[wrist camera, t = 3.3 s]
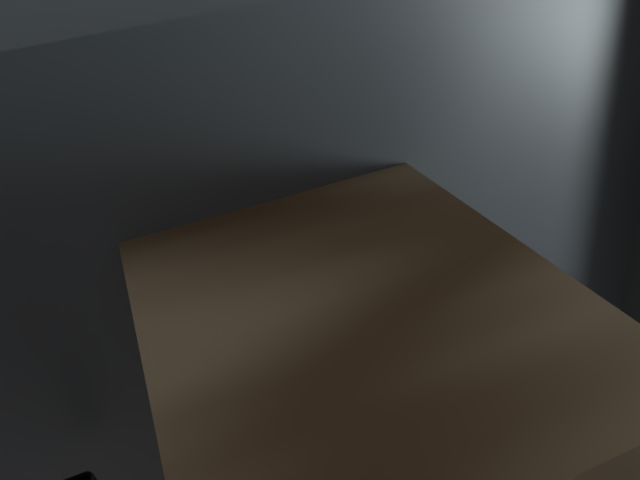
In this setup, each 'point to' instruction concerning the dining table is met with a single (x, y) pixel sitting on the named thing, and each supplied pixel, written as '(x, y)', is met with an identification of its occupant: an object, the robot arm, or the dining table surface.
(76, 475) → the robot arm
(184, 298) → the block
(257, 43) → the grey tray
